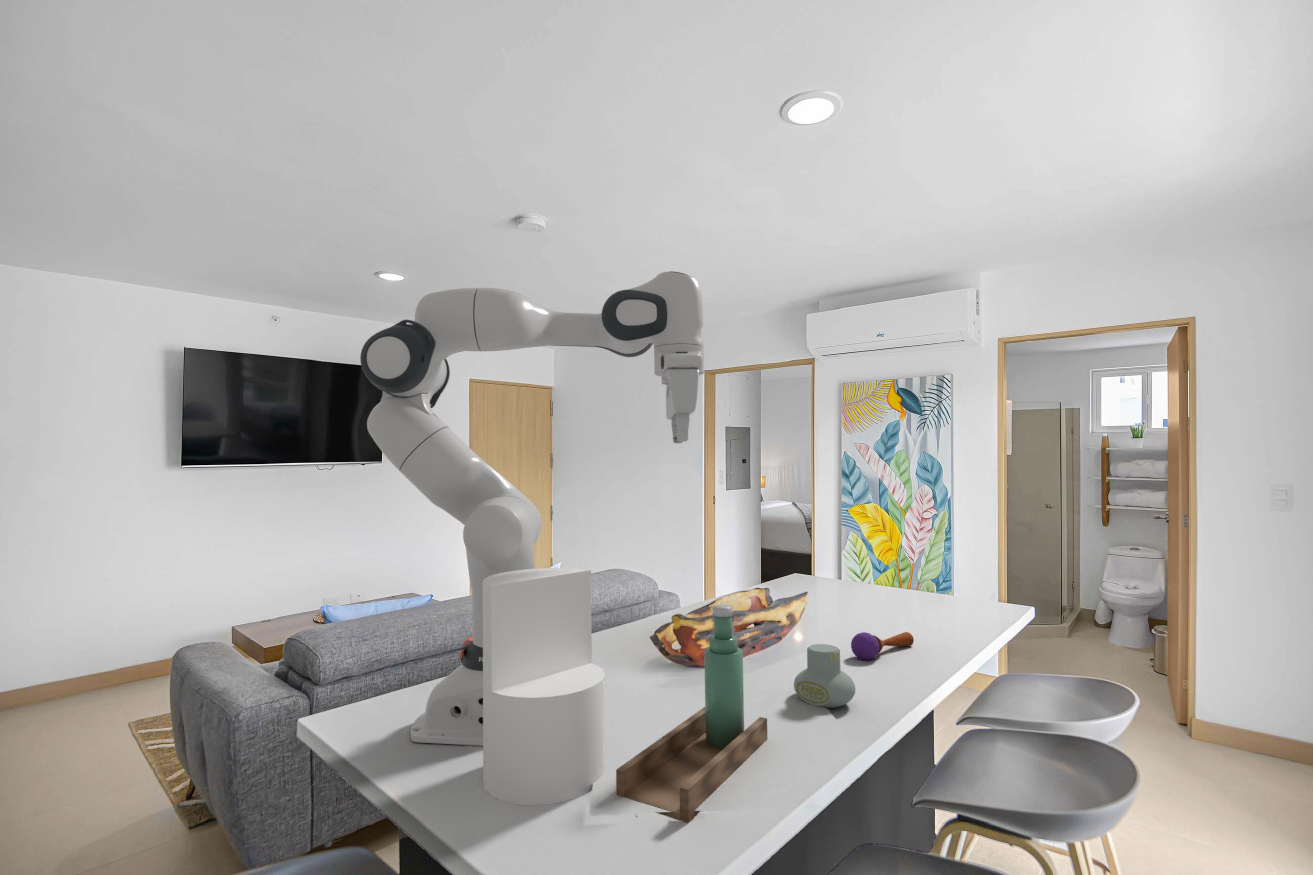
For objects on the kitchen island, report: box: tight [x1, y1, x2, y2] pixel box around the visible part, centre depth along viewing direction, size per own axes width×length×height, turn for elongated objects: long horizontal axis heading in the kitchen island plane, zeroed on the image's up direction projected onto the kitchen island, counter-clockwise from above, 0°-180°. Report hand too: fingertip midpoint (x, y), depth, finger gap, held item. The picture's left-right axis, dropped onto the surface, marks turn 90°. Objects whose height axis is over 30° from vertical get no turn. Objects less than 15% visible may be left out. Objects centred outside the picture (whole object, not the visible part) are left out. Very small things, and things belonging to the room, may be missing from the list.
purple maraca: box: [850, 631, 915, 661], centre depth 152 cm, size 6×6×20 cm
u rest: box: [615, 706, 768, 824], centre depth 95 cm, size 26×11×4 cm, turn 149°
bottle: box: [703, 604, 745, 749], centre depth 103 cm, size 6×6×21 cm
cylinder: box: [482, 567, 607, 806], centre depth 95 cm, size 17×17×28 cm
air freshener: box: [793, 643, 856, 709], centre depth 121 cm, size 11×8×10 cm
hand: (680, 442), depth 116 cm, fingers open, 8 cm apart
